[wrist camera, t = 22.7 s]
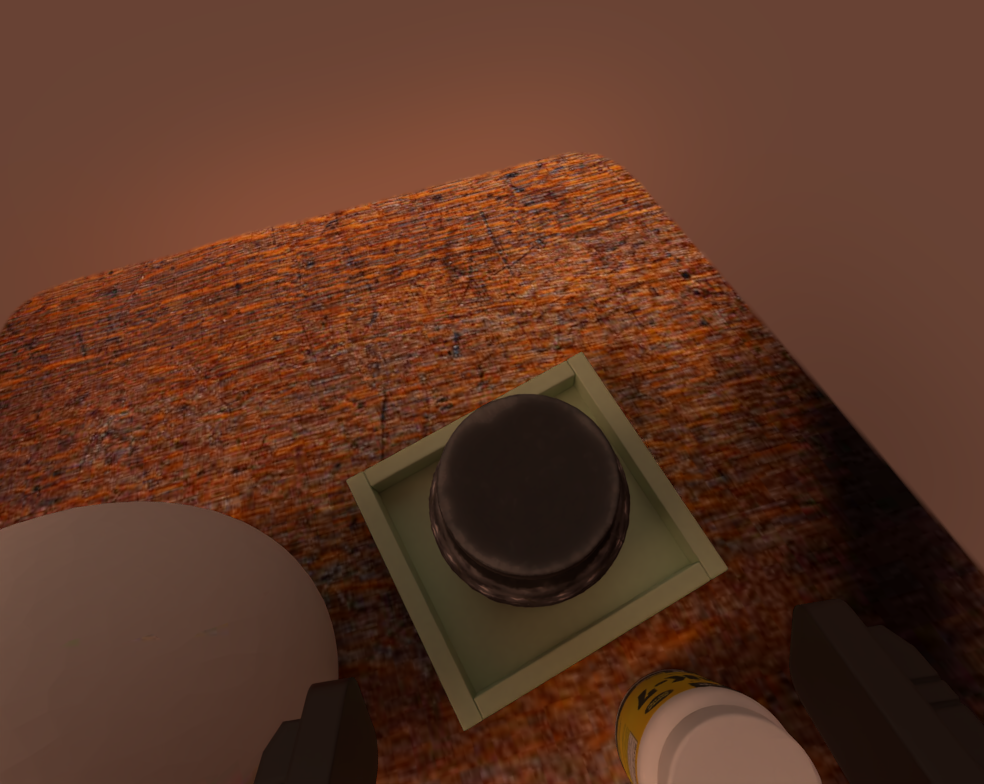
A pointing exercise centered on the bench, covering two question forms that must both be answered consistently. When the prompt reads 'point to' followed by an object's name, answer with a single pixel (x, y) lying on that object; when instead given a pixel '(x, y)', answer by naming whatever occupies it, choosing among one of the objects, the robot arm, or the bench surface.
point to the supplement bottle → (703, 735)
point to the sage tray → (530, 631)
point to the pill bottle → (529, 501)
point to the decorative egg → (151, 646)
